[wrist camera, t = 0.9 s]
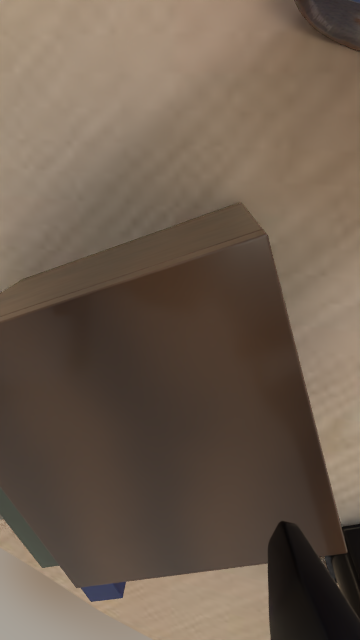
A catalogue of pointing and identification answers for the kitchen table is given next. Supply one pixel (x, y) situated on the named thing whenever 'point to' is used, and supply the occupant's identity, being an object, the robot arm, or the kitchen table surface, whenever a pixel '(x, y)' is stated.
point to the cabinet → (160, 407)
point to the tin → (334, 19)
